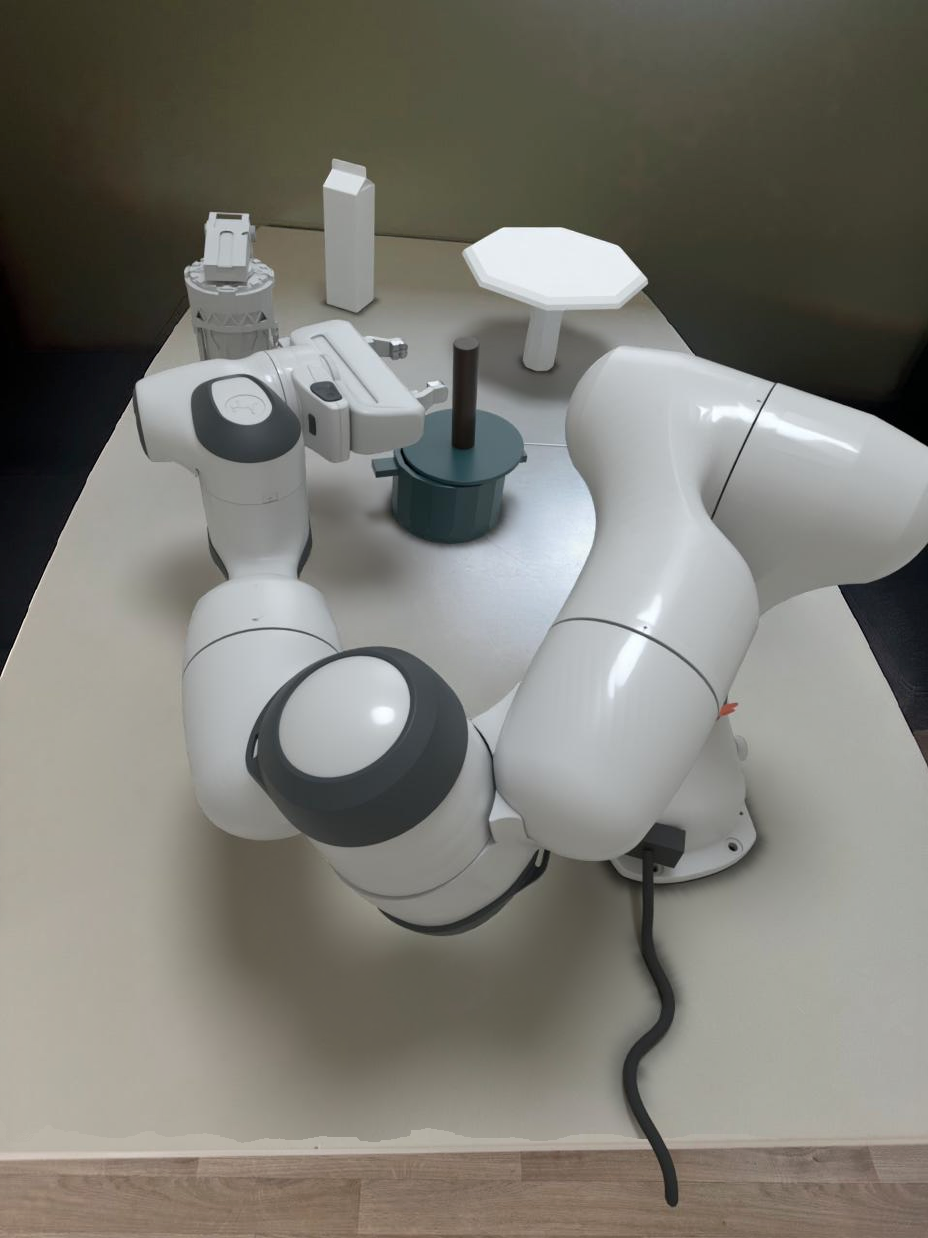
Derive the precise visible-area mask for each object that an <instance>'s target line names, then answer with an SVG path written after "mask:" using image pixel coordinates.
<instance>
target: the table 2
mask: <svg viewBox="0 0 928 1238" xmlns="http://www.w3.org/2000/svg"><path fill="white" fill-rule="evenodd" d="M461 255H462V257H463V259H464V261H465V263H466V265H467V266H468V268H469V270H470V272H471V273H472V275H473V278H474V280H475V281H476V282H477V285H478V287H480V288H482V289H486V290H489V291H491V292H493V293H497V294H499V295H502V296H504V297H505V296H506V297H507V298H510V299H513V300H516V301H519V302H521V303H524V304H527V305H530V311H529V323H528V328H527V332H526V338H525V344H524V350H523V356H522V362H523V364H524V366H525V367H526V368H528V369H529V370H530V369H531V370H532V371H535V372H545V371H546V372H547V371H549V370H551V369H552V368H553V367H554V365H555V360H556V355H557V349H558V343H559V336H560V330H561V325H562V322H563V318H564V314H565V311H583V310H586V311H591V310H620V309H621V308H622V307H623V306H625V305H626V304H627V303H628V302H629V301H630V300H631V299H633V298H634V297H635V296H636V295H637V294H638V293H640V292H641V290H643V289H644V288H645V287H646V286H647V285H648V284H649V281H648V280H649V279H648V278H647V277H646V275H645V274H644V273H643V272H642V271H641V270H640V268H639V267H638V266H637V265H636V264H635V262H633V260H632V259H631V258H630V257H629V256H628V255H627V253H626V252H625V251H624V250H623V249H622V248H621V246H619V245H617V244H614V243H612V242H608V241H605V240H602V239H599V238H596V237H594V236H593V237H592V236H590V235H587V234H584V233H580V232H577V231H574V230H571V229H568V228H565V227H531V226H530V227H527V226H526V227H524V226H523V227H520V226H519V227H513V226H511V227H510V226H508V227H501V228H499V229H498V230H497V229H496V230H495V231H493V232H491V233H490V234H488V235H487V236H485V237H483V238H482V239H480V240H478V241H476V242H474V243H473V244H471V245H469V246H468V247H466V248H464V249H463V251H462V252H461Z"/></svg>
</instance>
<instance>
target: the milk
mask: <svg viewBox="0 0 928 1238" xmlns="http://www.w3.org/2000/svg"><path fill="white" fill-rule="evenodd" d="M375 197H376V184H375V183H374V182H373V181H371V180H370V179H369V178H368V177H367V168H366V166H363V165H360V164H356V163H352V162H349V161H344V160H341V159H337V158H332V160H331V170H330V171H329V174H328V176H327V178H326V179H325V181H324V183H323V185H322V199H323V200H322V202H323V203H322V204H323V229H324V230H323V231H324V232H323V233H324V261H325V264H324V265H325V291H326V292H325V295H326V305H330V306H332V307H336V308H339V309H343V310H346V311H349V312H352V313H354V314H355V313H356V314H357V313H359V312H360V311H362V310H363V309H364V308H365V307H366V306H369V304H371V302H373V301H374V297H375V296H374V295H375V294H374V291H375V289H374V287H375V284H374V283H375V213H376V212H375V209H376V208H375V206H376V205H375V204H376V203H375V201H376V199H375Z"/></svg>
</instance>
